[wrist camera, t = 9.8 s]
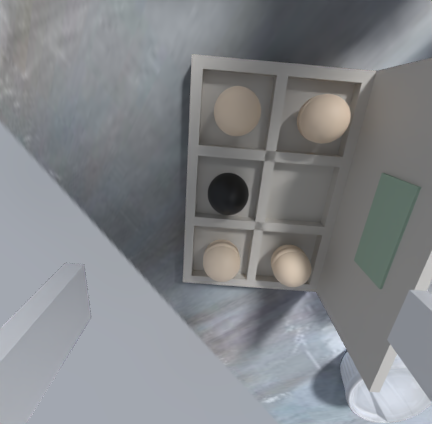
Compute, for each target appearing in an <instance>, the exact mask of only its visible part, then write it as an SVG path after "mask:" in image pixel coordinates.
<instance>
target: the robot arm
mask: <svg viewBox="0 0 432 424" xmlns="http://www.w3.org/2000/svg"><path fill="white" fill-rule="evenodd" d="M90 319H91V311H90V303H89V296H88V288H87V281H86V273H85V266H84V264H73V263H64V264H63V266H61V267H60V268H59V269H58V270H57V272H55V274H53V275H52V276H51V278H49V280H48V281H47V282H46V283H45V284H44V285H43V286H42V287H41V288H40V289H39V290H38V291H37V292H36V293H35V294H34V295H33V296H32V297H31V298H30V299H29V300H28V301H27V302H26V303H25V304H24V305H23V306H22V307H21V308H20V309H19V310H18V311H17V312H16V313H15V314H14V315H13V316H12V317H11V318H10V319H9V320H8V321H7V322H6V323H5V324H4V325H3V326H2V327H1V328H0V424H27V422H28V420H29V419H30V417H31V415H32V414H33V412H34V410H35V409H36V407H37V406H38V404H39V402H40V401H41V399H42V398H43V396H44V394H45V393H46V391H47V389H48V388H49V386H50V384H51V383H52V381H53V380H54V378H55V376H56V374H57V373H58V371H59V370H60V368H61V366H62V365H63V363H64V361H65V360H66V358H67V357H68V355H69V353H70V352H71V350H72V348H73V347H74V345H75V344H76V342H77V340H78V339H79V337H80V335H81V334H82V332H83V330H84V329H85V327H86V326H87V324H88V322H89V321H90ZM387 340H388V342H389V343H390V345H391V346H392V347H393V349H394V350H395V352H396V353H397V354H398V356H399V357H400V359H401V360H402V361H403V363H404V364H405V366H406V367H407V369H408V370H409V371H410V373H411V374H412V376H413V377H414V378H415V380H416V381H417V383H418V384H419V385H420V387H421V388H422V390H423V391H424V392H425V394H426V395H427V397H428V398H429V400H430V401H431V402H432V294H431V293H430V292H429V291H421V290H409V292H408V294H407V296H406V298H405V301H404V303H403V305H402V307H401V310H400V312H399V314H398V316H397V319H396V321H395V323H394V325H393V327H392V330H391V332H390V334H389V336H388V339H387Z"/></svg>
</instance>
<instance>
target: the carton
mask: <svg viewBox="0 0 432 424" xmlns="http://www.w3.org/2000/svg"><path fill="white" fill-rule="evenodd" d="M222 173H234V174H237V175H238V176H240V177H241V178H242V179H243V180H244V181H245V182H246V184H247V187H248V191H249V197H248V201H247V204H246V206H245V207H244V208H243V209H242V210H241V211H240V212H239V213H237V214H234V215H222V214H220V213H218V212H216V211H215V210H214V209H213V208H212V206H211V205H210V203H209V200H208V188H209V185H210V183H211V181H212V180H213V179H214V178H215V177H216V176H218V175H220V174H222ZM431 280H432V58H428V59H424V60H420V61H416V62H412V63H408V64H403V65H399V66H395V67H391V68H387V69H383V70H379V71H372V70H361V69H350V68H339V67H327V66H316V65H305V64H294V63H283V62H272V61H261V60H250V59H239V58H228V57H217V56H206V55H195V54H192V62H191V87H190V112H189V137H188V162H187V187H186V212H185V237H184V262H183V282H187V283H201V284H214V285H228V286H241V287H255V288H268V289H282V290H296V291H309V292H316V293H317V294H318V296H319V298H320V300H321V302H322V304H323V306H324V308H325V310H326V311H327V313H328V315H329V317H330V319H331V321H332V323H333V325H334V327H335V328H336V330H337V332H338V334H339V336H340V338H341V340H342V342H343V343H344V345H345V347H346V349H347V351H348V353H349V355H350V357H351V359H352V360H353V362H354V364H355V366H356V368H357V370H358V372H359V374H360V376H361V377H362V379H363V381H364V383H365V385H366V387H367V389H368V391H369V392H380V390H381V388H382V386H383V383H384V381H385V379H386V377H387V375H388V373H389V371H390V368H391V366H392V364H393V362H394V360H395V358H396V356H397V353H396V352H395V350H394V349H393V347H392V346H391V345H390V343H389V342H388V340H387V339H388V336H389V334H390V332H391V330H392V327H393V325H394V323H395V321H396V319H397V316H398V314H399V312H400V310H401V307H402V305H403V303H404V301H405V298H406V296H407V294H408V292H409V290H421V291H427V289H428V287H429V285H430V283H431Z"/></svg>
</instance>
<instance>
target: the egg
mask: <svg viewBox="0 0 432 424" xmlns="http://www.w3.org/2000/svg"><path fill="white" fill-rule="evenodd" d="M248 197H249V191H248V187H247V184H246V182H245V181H244V180H243V179H242V178H241V177H240V176H238V175H237V174H234V173H222V174H220V175H218V176H216V177H215V178H214V179H213V180H212V181H211V183H210V185H209V188H208V200H209V203H210V205H211V206H212V208H213V209H214V210H215V211H216V212H218V213H220V214H222V215H234V214H237V213H239V212H240V211H241V210H242V209H243V208H244V207H245V206H246V204H247V201H248Z"/></svg>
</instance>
